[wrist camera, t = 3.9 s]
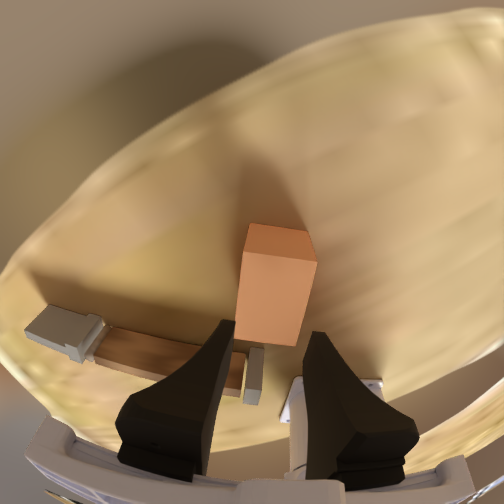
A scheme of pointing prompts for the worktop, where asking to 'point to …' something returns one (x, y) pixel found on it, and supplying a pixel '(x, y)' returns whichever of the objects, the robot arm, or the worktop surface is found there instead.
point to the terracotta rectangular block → (274, 284)
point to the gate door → (153, 356)
